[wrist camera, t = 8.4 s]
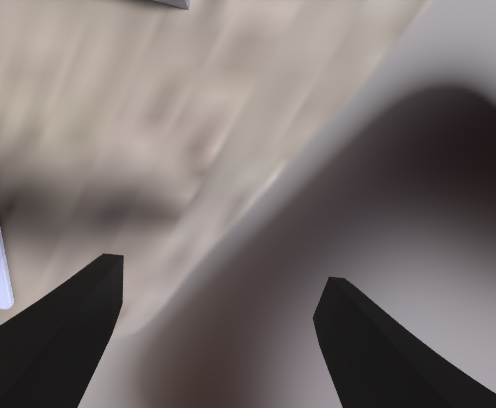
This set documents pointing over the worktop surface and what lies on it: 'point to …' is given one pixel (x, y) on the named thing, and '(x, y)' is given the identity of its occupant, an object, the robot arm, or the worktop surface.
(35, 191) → the worktop surface
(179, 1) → the gray slab
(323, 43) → the worktop surface
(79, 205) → the worktop surface
